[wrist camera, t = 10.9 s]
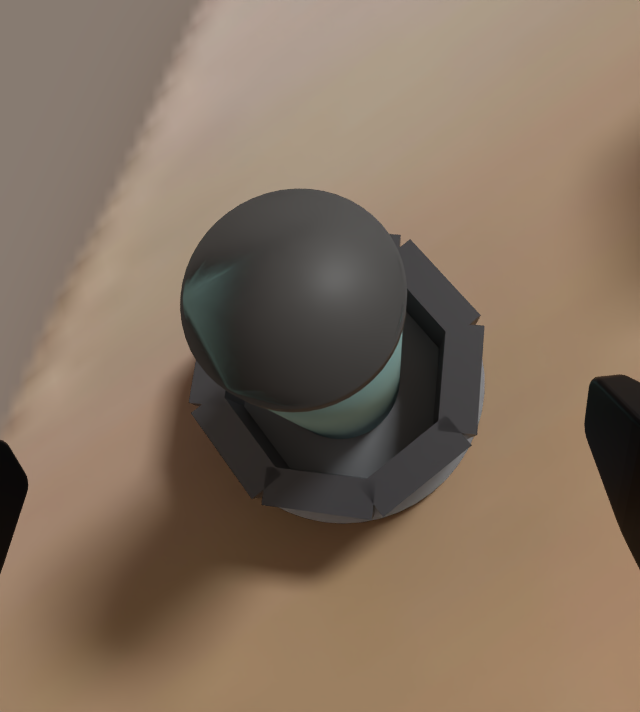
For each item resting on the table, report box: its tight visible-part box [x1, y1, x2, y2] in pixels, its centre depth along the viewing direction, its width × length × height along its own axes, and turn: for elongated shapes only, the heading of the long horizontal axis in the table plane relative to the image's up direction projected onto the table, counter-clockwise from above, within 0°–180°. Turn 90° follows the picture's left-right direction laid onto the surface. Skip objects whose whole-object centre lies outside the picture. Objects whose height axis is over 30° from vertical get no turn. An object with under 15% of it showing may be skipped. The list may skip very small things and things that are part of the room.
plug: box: [180, 189, 407, 439], centre depth 16 cm, size 4×4×10 cm
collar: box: [189, 234, 484, 523], centre depth 19 cm, size 10×10×3 cm
